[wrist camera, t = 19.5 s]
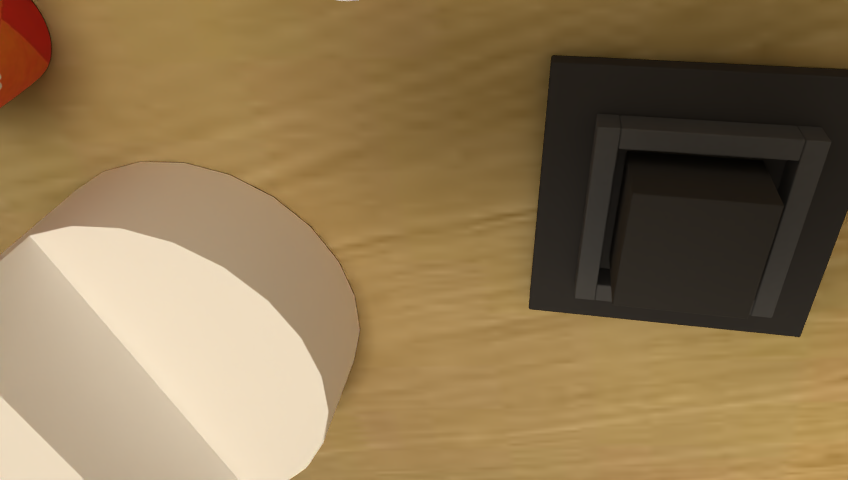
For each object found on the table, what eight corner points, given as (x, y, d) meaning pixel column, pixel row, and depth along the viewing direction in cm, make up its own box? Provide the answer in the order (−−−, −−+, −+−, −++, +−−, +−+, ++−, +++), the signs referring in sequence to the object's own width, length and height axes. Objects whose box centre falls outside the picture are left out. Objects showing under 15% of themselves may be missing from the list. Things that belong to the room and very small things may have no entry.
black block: (764, 160, 32) (785, 205, 29) (732, 268, 35) (748, 319, 32) (626, 150, 33) (632, 193, 30) (608, 256, 36) (612, 305, 33)
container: (415, 383, 45) (363, 581, 34) (178, 437, 53) (73, 613, 42) (243, 109, 36) (100, 258, 26) (-12, 222, 44) (-206, 373, 33)
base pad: (888, 70, 30) (911, 93, 28) (795, 325, 38) (808, 357, 36) (551, 54, 32) (549, 74, 30) (529, 298, 40) (526, 327, 38)
